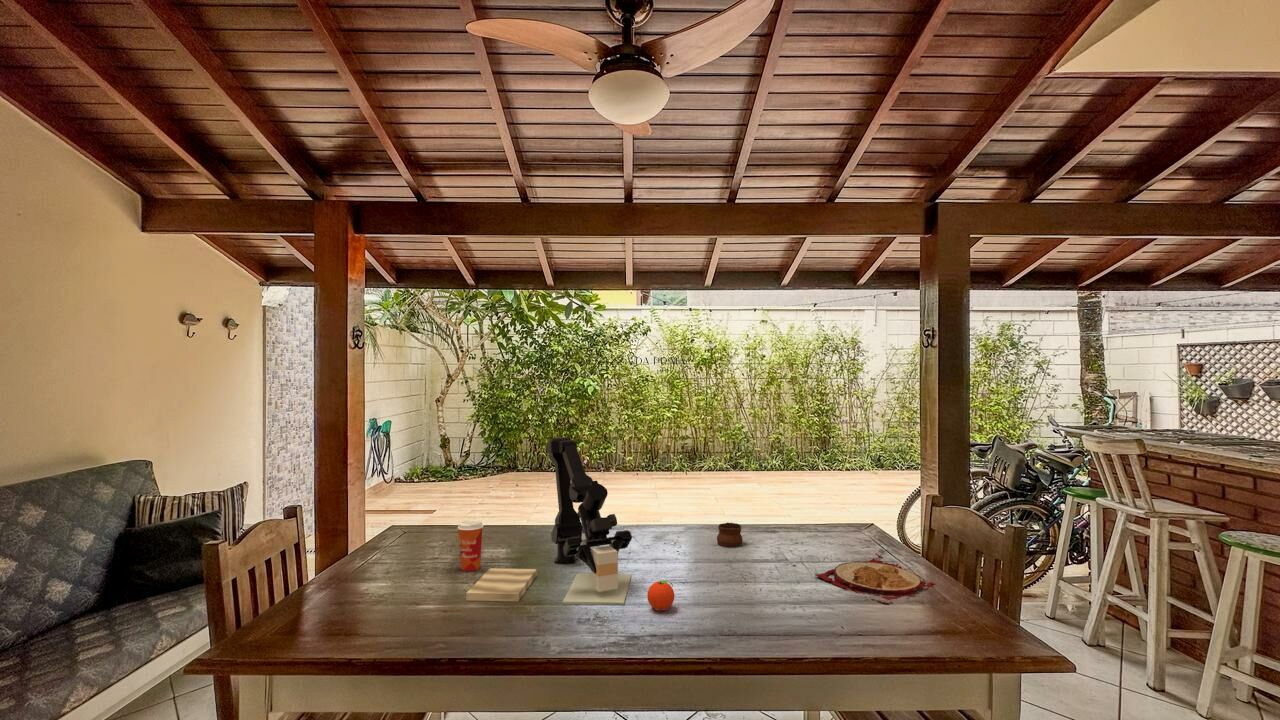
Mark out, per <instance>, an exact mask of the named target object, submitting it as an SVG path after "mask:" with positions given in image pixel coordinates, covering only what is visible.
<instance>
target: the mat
mask: <svg viewBox="0 0 1280 720" xmlns="http://www.w3.org/2000/svg"><path fill="white" fill-rule="evenodd" d="M631 579H632V574H631V573H630V574H629V573H618V589H612V590H606V591H600V592H598V591H597V590H596V589H595V588H594V587H593V586H592V585H591V573H585V572H584V573H576V576H574V579H573V581H572V582H571V585H570V586H569V589H568V590H567V593H566V594H565V596H564V598H563V600H562V605H597V606H598V605H601V606H602V605H603V606H604V605H605V606H606V605H607V606H608V605H610V606H612V605H613V606H625V603H626V600H627V599H626V598H627V594H628V590H629V587H630V582H631Z"/></svg>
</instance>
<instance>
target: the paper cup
mask: <svg viewBox="0 0 1280 720" xmlns="http://www.w3.org/2000/svg"><path fill="white" fill-rule="evenodd" d="M483 528H484V524H483V523H482V520H477V519H469V520H464V521H461V522H459V523H458V526H457V530H458V540H459V556H460V557H459V558H460V569H461V571H462V572H463V571H464V572H473V571H477V570H480V568H481V560H482V559H481V558H482V557H481V556H482V541H483V538H482V537H483Z"/></svg>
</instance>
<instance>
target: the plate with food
mask: <svg viewBox="0 0 1280 720" xmlns="http://www.w3.org/2000/svg"><path fill="white" fill-rule="evenodd" d="M875 556H877V559H875V557H873V558H872V559H870V560H868V561H854V562H845V563H841V564H838V565H836V566H835V568H832V569H829V570H827V571H826V572H824V573H820V574H819V573H814V576H815V577H818V578H820V579H821V578H822V579H823V580H824V581H827V582H830V583H831V584H832V585H834V586H837V587H840V588H841V589H842V588H843V589H845V591H850V590H851V591H853V592H854V593H856V594H864V595H866V594H868V595H870V596H872V595H873V596H875V597H880V598H882V599H884V601H882V600H878V602H879V603H881V604H890V605H891V604H893V601H890V600H898V599H899V598H904V597H907V598H912V597H917V596H918V595H919V593H918V594H917V595H916V593H915V592H917V591H918V590H920V589H923V588H924V590H925V591H927V590H929V589H930V588H936V587H935V585H936V586H937V583H935V582H932V581H930V582H928V583H927V582H926V581H924V580H922V579H921V578H920V577H919V576H918V575H917V574H916V573H913V572H912V571H910V570H907V569H906V568H902V566H901V565H899V564H898V563H896V564H895V563H888V562H883V561H882V560H883V559H884V556H882V555H880V554H878V553H875ZM878 558H879V559H882V560H878ZM832 574H833V578H832V577H830V575H832ZM929 591H930V590H929ZM880 595H881V596H880ZM864 598H867V596H864ZM870 600H871V601H872V600H876V598H875V599H874V598H870ZM885 600H887V601H890V602H886V601H885Z"/></svg>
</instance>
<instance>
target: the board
mask: <svg viewBox="0 0 1280 720" xmlns="http://www.w3.org/2000/svg"><path fill="white" fill-rule="evenodd" d="M537 574H538V573H537V569H536V568H495V567H494V568H492V567H491V568H489V569H488V570H487V571H485V573H484V574H483V575H482V576H481V577H480V578H479V580H478V581H477V582H475V584H473V586H472V587H471V588H470V589H469V590H467V592H466V595H465V600H466V602H467V601H470V602H471V601H474V602H519V601H520V600H521V599H522V597H524V595H525V593H526V592H527V590H528V589H529V587H530V586H531V584H532V583H533V582H534V580H535V579H536V578H537Z"/></svg>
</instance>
